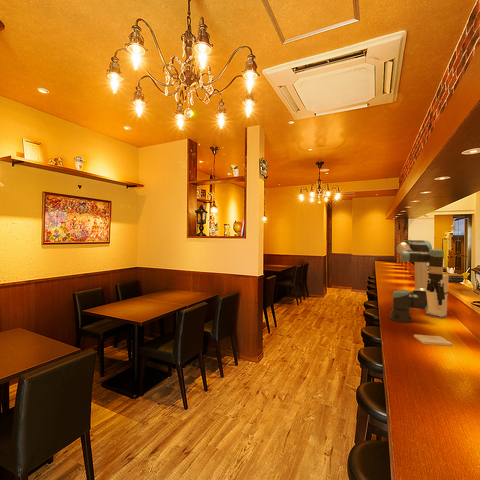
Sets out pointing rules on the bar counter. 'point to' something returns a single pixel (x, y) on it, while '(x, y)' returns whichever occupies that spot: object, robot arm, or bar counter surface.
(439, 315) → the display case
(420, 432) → the bar counter surface
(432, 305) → the foam cup
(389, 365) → the bar counter surface
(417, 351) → the bar counter surface
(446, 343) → the tile
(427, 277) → the robot arm
